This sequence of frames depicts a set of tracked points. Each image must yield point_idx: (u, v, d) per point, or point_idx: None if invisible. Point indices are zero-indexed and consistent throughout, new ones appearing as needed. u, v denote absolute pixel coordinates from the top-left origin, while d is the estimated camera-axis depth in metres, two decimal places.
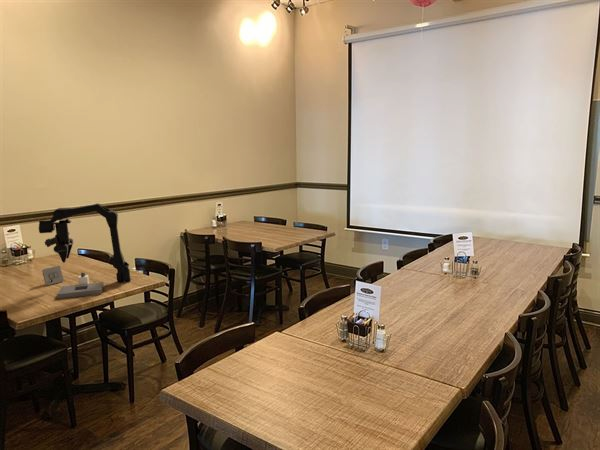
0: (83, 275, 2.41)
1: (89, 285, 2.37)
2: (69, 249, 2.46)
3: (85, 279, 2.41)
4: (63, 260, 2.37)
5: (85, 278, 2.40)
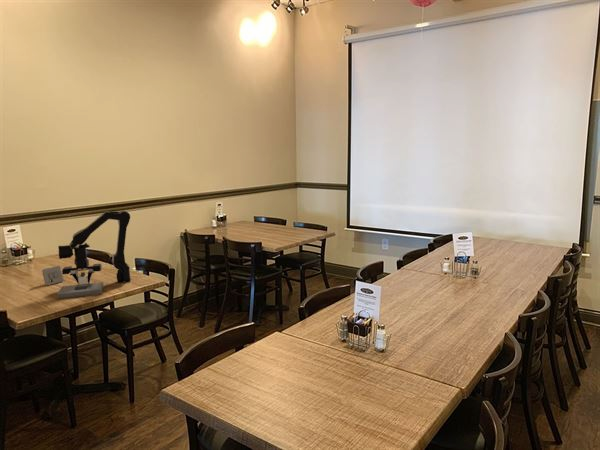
0: (83, 275, 2.41)
1: (89, 285, 2.37)
2: (88, 276, 2.41)
3: (85, 279, 2.40)
4: None
5: (85, 278, 2.40)
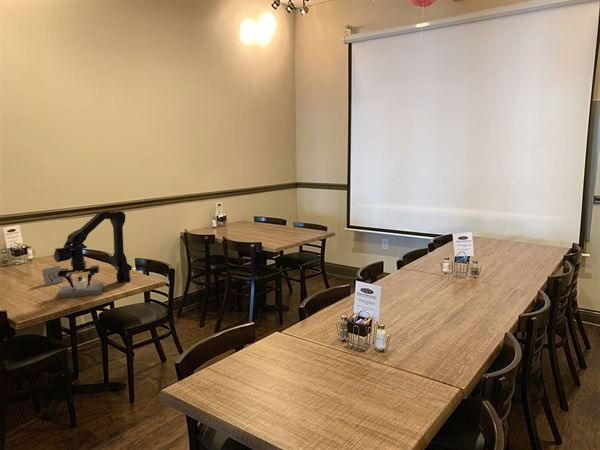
0: (80, 279, 2.32)
1: (89, 285, 2.37)
2: None
3: (82, 284, 2.31)
4: None
5: (82, 282, 2.31)
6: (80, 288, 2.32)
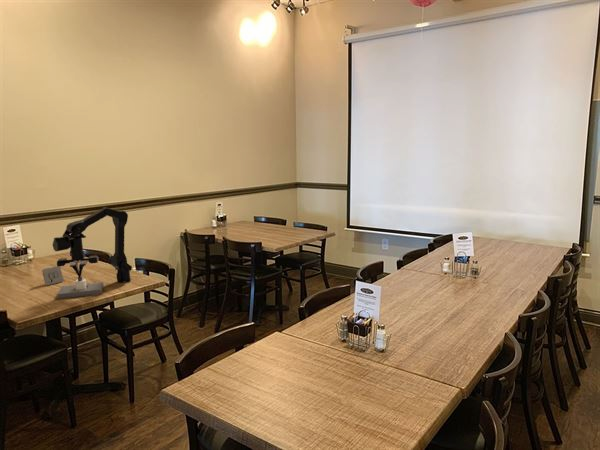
0: (80, 279, 2.32)
1: (89, 285, 2.37)
2: (79, 268, 2.30)
3: (82, 284, 2.31)
4: None
5: (82, 282, 2.31)
6: (80, 288, 2.32)
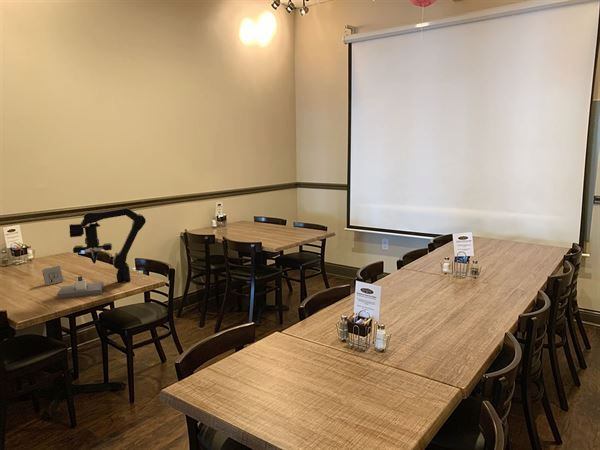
0: (80, 279, 2.32)
1: (89, 285, 2.37)
2: (94, 255, 2.42)
3: (82, 284, 2.31)
4: None
5: (82, 282, 2.31)
6: (80, 288, 2.32)
